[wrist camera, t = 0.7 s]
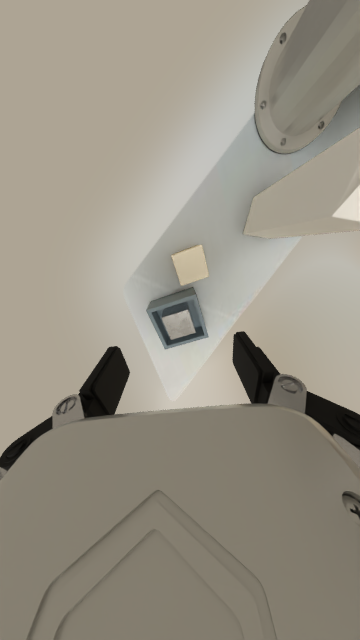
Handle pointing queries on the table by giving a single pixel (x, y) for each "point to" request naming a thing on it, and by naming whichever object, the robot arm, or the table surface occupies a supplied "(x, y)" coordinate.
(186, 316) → the block
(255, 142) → the table surface
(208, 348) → the table surface
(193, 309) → the tote
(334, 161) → the milk
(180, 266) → the beige cube
